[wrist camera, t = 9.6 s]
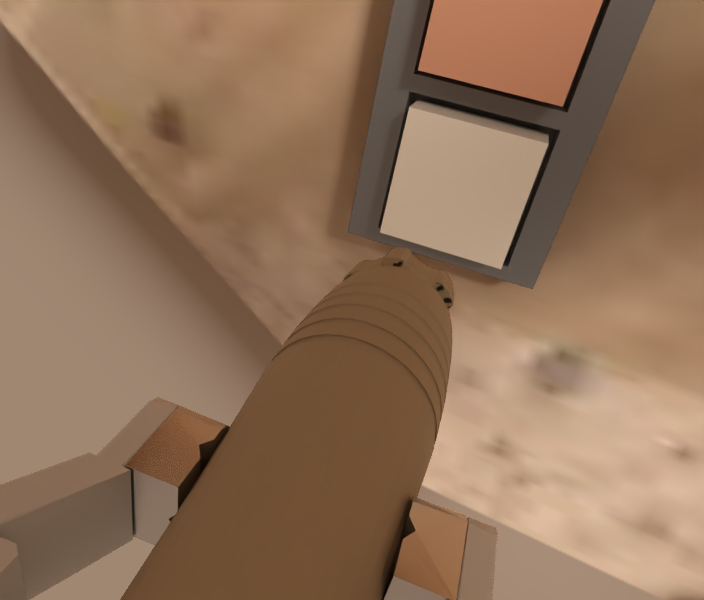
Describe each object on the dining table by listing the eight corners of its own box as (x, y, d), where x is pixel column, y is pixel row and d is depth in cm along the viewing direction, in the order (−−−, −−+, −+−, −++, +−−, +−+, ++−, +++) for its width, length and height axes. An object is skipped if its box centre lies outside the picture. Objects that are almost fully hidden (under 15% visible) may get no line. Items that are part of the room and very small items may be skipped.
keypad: (493, -413, 20) (487, -464, 18) (803, -381, 18) (838, -432, 16) (360, 216, 33) (347, 232, 31) (533, 268, 31) (532, 289, 29)
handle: (427, 162, 15) (-303, 1204, 2) (523, 355, 16) (448, 1523, 4) (287, 231, 17) (-464, 923, 4) (385, 394, 19) (58, 1208, 6)
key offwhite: (418, 99, 27) (409, 106, 25) (548, 133, 26) (548, 143, 24) (389, 217, 30) (379, 232, 28) (503, 252, 29) (501, 269, 27)
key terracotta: (466, -99, 23) (459, -107, 21) (623, -68, 22) (631, -74, 20) (426, 64, 26) (418, 70, 24) (561, 98, 25) (562, 106, 23)
